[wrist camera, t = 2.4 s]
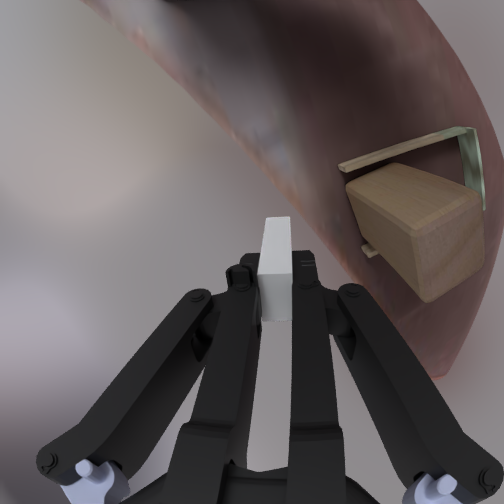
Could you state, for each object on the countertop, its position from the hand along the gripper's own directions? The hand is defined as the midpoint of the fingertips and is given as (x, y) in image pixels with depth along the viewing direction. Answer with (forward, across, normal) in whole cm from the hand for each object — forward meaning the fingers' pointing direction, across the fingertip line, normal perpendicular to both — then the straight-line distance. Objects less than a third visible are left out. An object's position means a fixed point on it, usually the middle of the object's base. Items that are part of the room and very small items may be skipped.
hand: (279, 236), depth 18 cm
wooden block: (+25, +15, -6) cm, 30 cm away
